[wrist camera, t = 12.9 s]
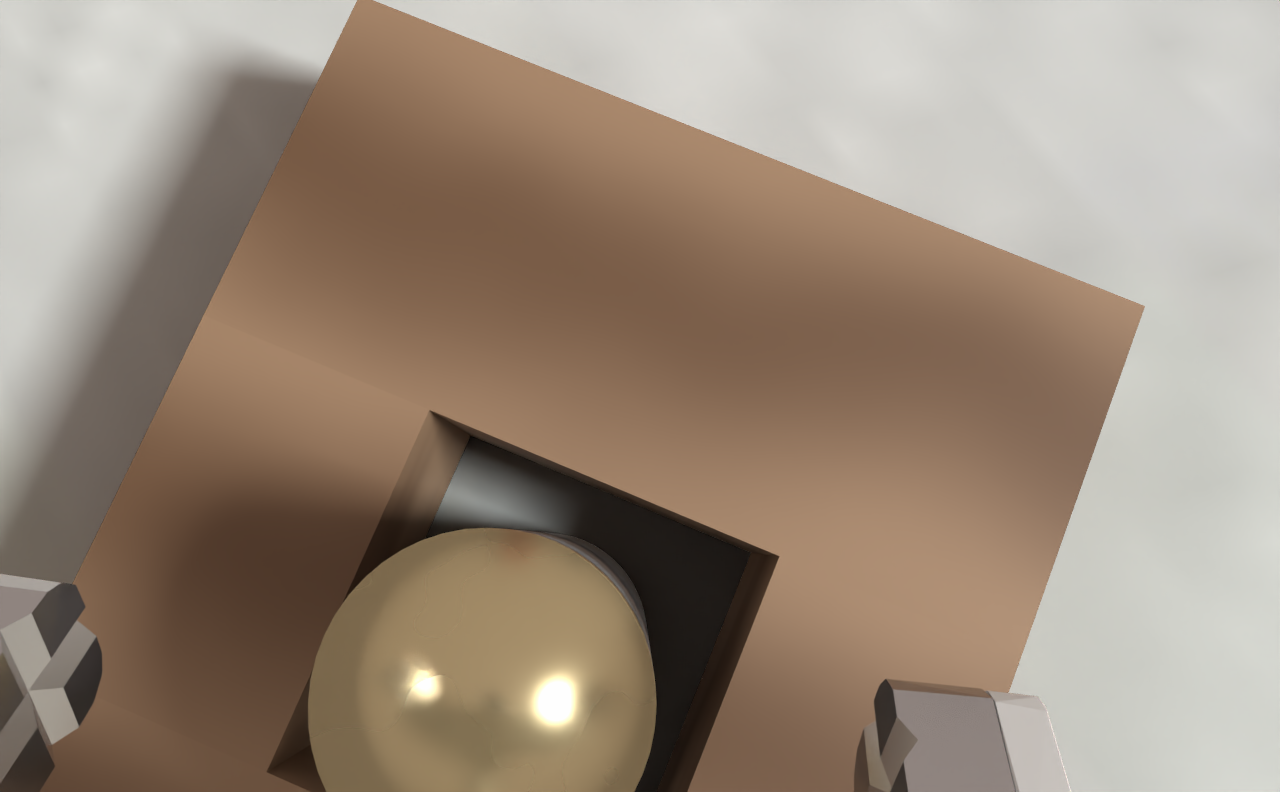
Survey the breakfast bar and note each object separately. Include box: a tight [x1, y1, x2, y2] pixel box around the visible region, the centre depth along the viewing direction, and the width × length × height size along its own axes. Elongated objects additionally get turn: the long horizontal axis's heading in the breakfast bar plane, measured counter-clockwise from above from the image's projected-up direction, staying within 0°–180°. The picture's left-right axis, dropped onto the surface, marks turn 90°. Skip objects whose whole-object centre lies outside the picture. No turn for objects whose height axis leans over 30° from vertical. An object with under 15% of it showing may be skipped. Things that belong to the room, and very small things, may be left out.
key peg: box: [308, 528, 657, 792], centre depth 16 cm, size 4×4×8 cm
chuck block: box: [40, 0, 1145, 792], centre depth 17 cm, size 18×14×4 cm
